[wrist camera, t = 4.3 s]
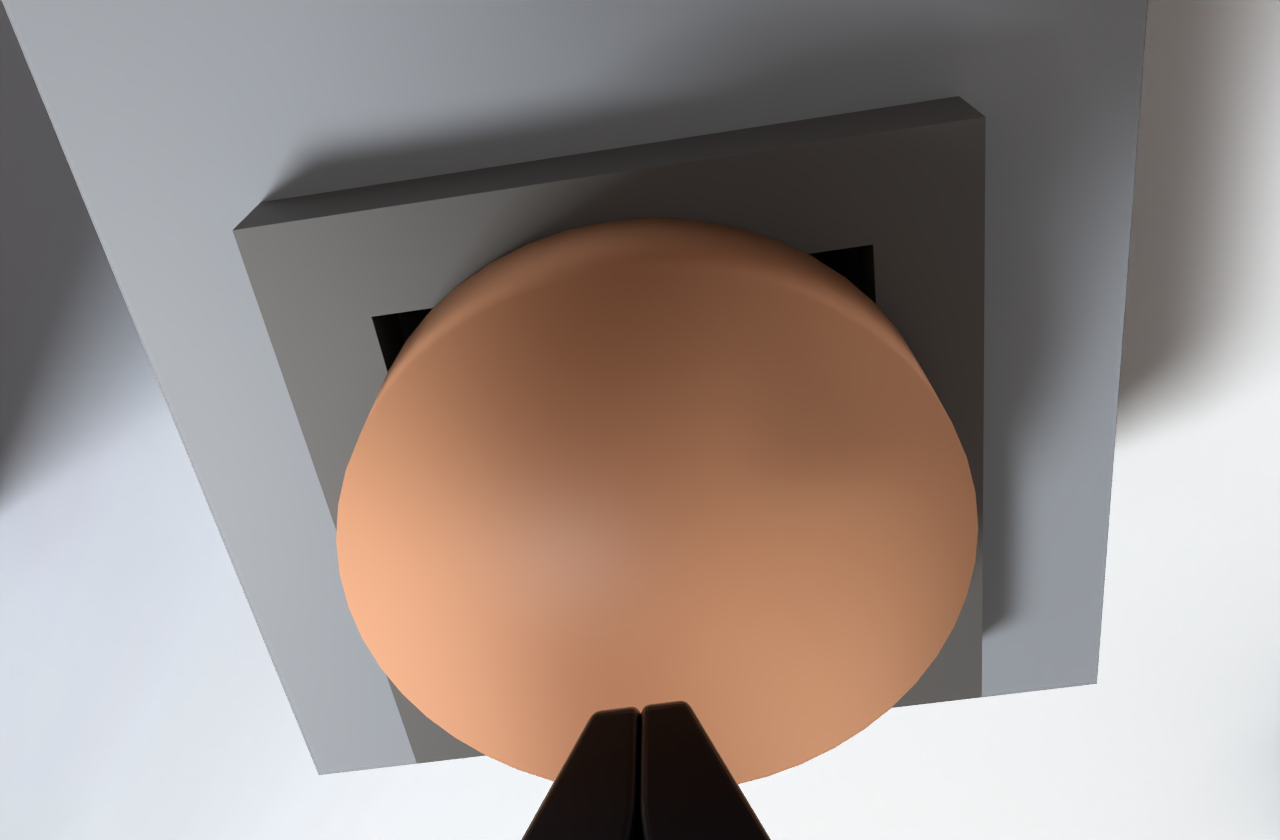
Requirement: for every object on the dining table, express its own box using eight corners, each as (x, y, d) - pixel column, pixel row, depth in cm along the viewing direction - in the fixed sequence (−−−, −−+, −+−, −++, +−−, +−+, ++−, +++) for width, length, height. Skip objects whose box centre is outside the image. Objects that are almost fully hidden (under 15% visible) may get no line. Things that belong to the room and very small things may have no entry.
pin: (850, 77, 16) (979, 217, 10) (872, 480, 19) (977, 758, 13) (383, 149, 16) (248, 323, 10) (484, 531, 19) (424, 822, 14)
